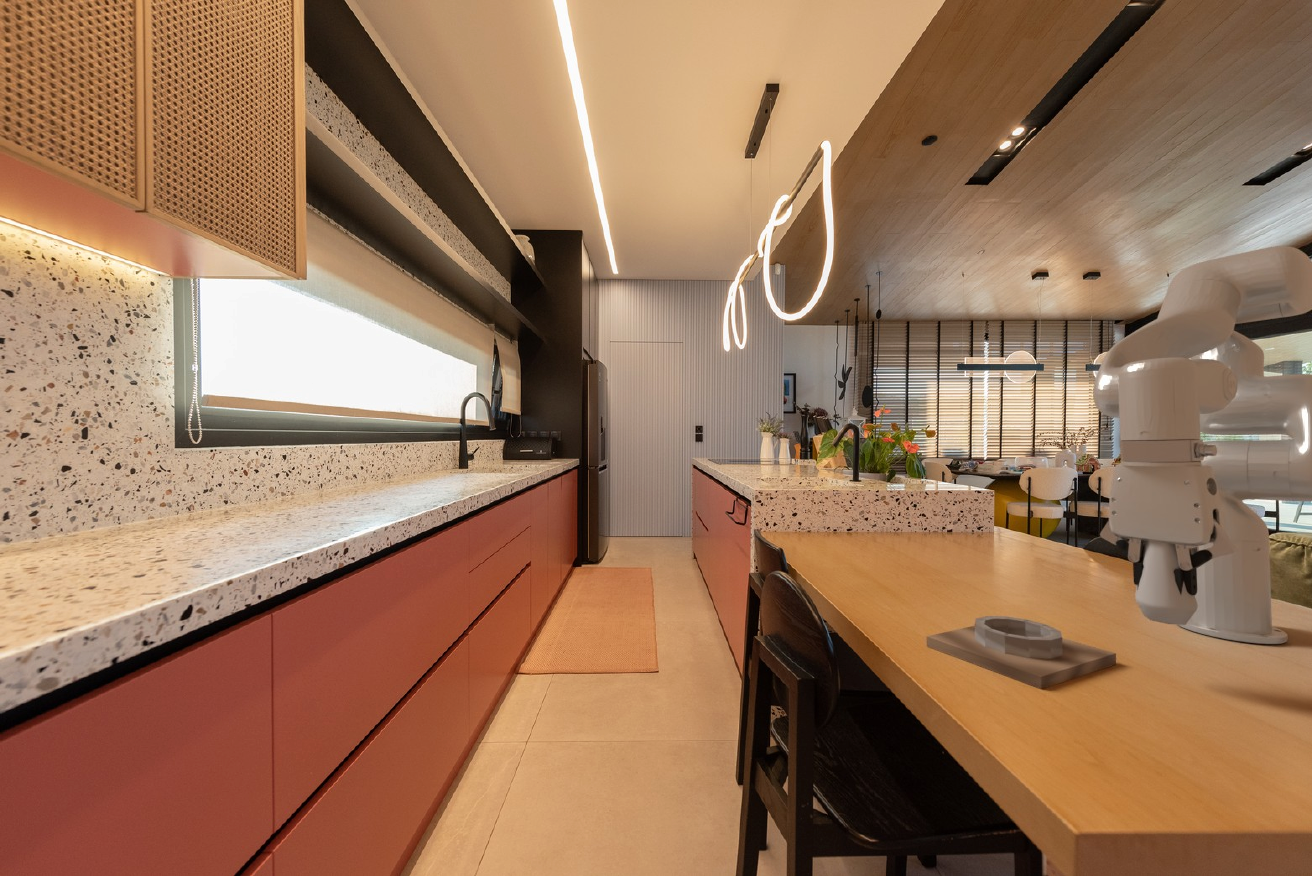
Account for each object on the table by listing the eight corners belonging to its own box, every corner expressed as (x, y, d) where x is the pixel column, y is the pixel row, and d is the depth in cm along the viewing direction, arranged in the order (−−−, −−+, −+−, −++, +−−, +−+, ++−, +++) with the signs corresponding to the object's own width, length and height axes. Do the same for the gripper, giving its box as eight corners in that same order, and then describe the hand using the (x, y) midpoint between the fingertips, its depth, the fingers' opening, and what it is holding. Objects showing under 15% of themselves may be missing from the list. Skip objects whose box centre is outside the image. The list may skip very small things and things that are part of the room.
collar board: (999, 629, 87) (998, 605, 88) (1116, 664, 73) (1115, 635, 73) (926, 646, 80) (926, 619, 80) (1041, 689, 65) (1040, 656, 65)
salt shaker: (1211, 628, 64) (1207, 522, 64) (1157, 626, 65) (1153, 522, 65) (1174, 613, 70) (1170, 516, 70) (1125, 611, 71) (1121, 516, 71)
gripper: (1264, 453, 62) (1270, 608, 62) (1099, 452, 77) (1104, 577, 77) (1237, 455, 59) (1244, 619, 59) (1071, 454, 73) (1075, 585, 73)
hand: (1164, 594), depth 68 cm, fingers closed on salt shaker, 3 cm apart
